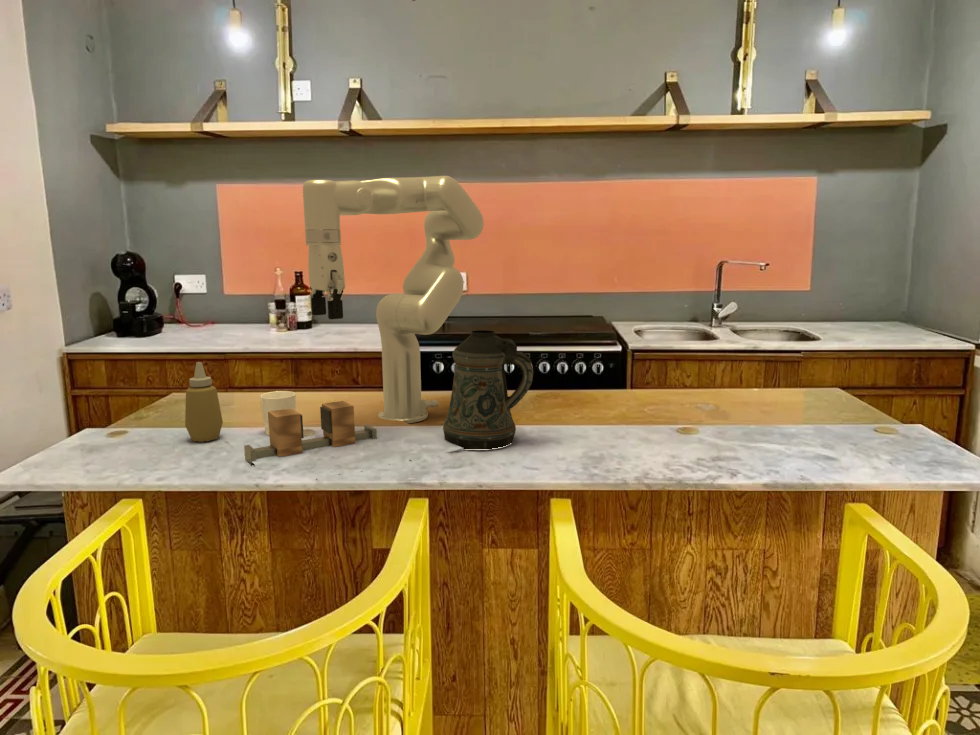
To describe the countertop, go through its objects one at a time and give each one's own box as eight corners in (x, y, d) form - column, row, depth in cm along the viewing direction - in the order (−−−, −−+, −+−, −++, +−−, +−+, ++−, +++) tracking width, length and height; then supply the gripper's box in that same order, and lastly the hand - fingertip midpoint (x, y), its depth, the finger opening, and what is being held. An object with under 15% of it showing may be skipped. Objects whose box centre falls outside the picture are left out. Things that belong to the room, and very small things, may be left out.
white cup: (288, 441, 162) (285, 399, 160) (256, 440, 164) (253, 397, 162) (303, 432, 170) (301, 391, 168) (273, 431, 171) (270, 390, 170)
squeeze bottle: (231, 436, 167) (225, 360, 164) (204, 445, 160) (198, 366, 157) (206, 432, 170) (199, 358, 167) (178, 441, 163) (171, 364, 160)
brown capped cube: (296, 445, 156) (293, 407, 154) (305, 452, 151) (302, 413, 149) (270, 450, 152) (267, 411, 151) (278, 457, 148) (276, 417, 146)
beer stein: (437, 434, 168) (434, 328, 163) (516, 427, 172) (516, 325, 168) (451, 454, 152) (448, 338, 147) (537, 447, 157) (538, 334, 152)
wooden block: (344, 437, 162) (343, 400, 160) (355, 443, 157) (353, 405, 156) (321, 441, 159) (319, 404, 157) (331, 447, 154) (329, 409, 152)
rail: (368, 438, 164) (368, 424, 164) (376, 442, 161) (376, 429, 160) (245, 460, 149) (244, 445, 148) (251, 465, 145) (250, 450, 145)
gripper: (355, 238, 150) (359, 319, 154) (324, 238, 164) (328, 312, 168) (321, 238, 146) (325, 321, 149) (292, 238, 160) (297, 314, 163)
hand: (327, 316), depth 158 cm, fingers open, 9 cm apart
